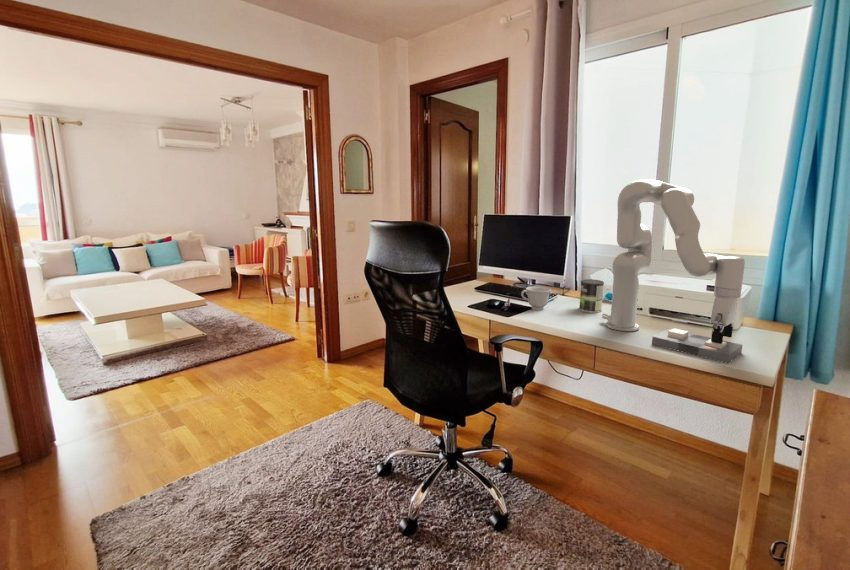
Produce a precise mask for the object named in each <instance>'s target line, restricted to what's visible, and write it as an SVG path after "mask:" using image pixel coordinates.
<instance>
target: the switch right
mask: <svg viewBox="0 0 850 570" xmlns="http://www.w3.org/2000/svg"><path fill="white" fill-rule="evenodd" d="M727 342H728V341H727ZM727 342H722V344H719V343H715V342H711V339H709V340H707V341H706V342H705V345H707V346H711V347H716V348H720V349H723V348H724V347H726V345H727Z"/></svg>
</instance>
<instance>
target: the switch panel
mask: <svg viewBox="0 0 850 570" xmlns="http://www.w3.org/2000/svg"><path fill="white" fill-rule="evenodd" d="M672 329H673V328H672ZM672 329H671V328H667V329H665V330H663V331H661V332H658V333H657V334H655V335H653V336H652V338H651V345H653V344H654V345H653V346H657V345H658V346H657V347H661V346H662V348H665V347H666V349H669V348H671V349H670V350H673V349H675V350H674V351H677V350H679V351H678V352H681V351H683V352H682V353H685V352H686V353H685V354H689V353H690V354H689V355H693V354H694V356H697V355H698V357H701V356H702V357H701V358H705V357H707V358H706V359H709V358H711V359H710V360H713V359H715V360H714V361H717V360H719V361H718V362H721V361H722V363H725V362H727V363H726V364H729V363H730V362H732V361H733V360H734V359H735V357H736V358H737V357H738V356H739V355H741V354H742V350H743V344H741V343H735V342H731V341H727V340H723V342H727V345H726V347H724V348H723V349H720V348H716V347H711V346H707V345H705V342H706V341H707V340H709V339H711V337H708V336H703V335H699V334H695V333H688V338H686V339H684V340H681V339H677V338H672V337H668V331H670V330H672ZM740 353H741V354H740ZM731 360H732V361H731Z"/></svg>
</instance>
